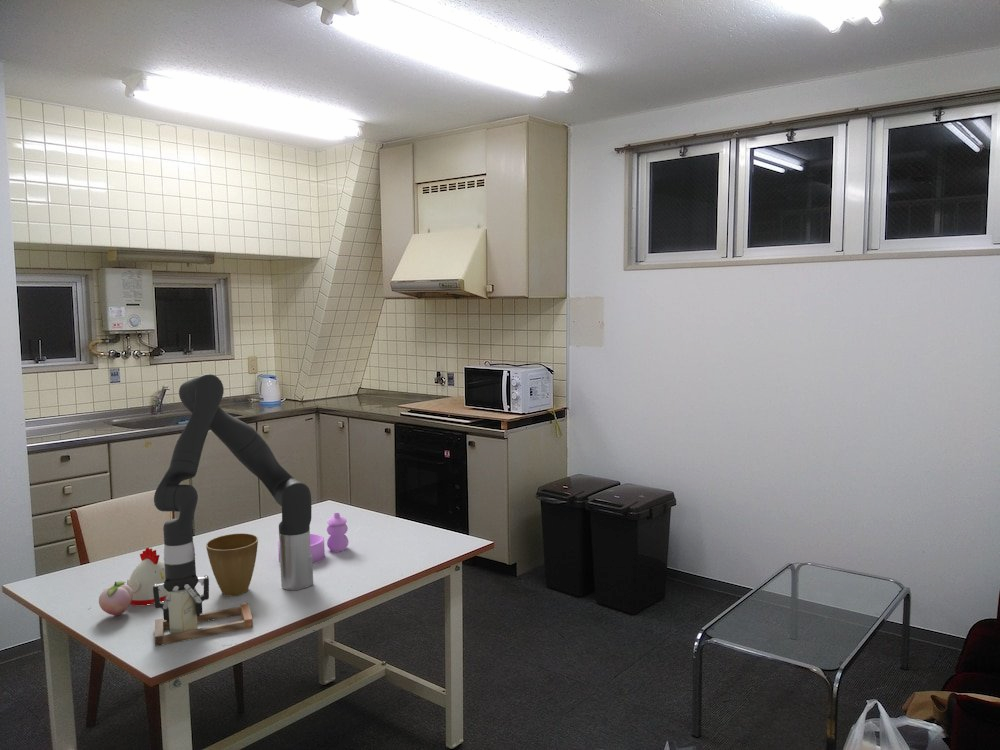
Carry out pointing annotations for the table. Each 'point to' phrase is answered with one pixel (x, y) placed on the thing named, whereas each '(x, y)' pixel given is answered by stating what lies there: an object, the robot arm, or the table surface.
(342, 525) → the container set
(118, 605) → the decorative fruit
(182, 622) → the skincare box
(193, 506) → the robot arm
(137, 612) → the table surface
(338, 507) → the table surface
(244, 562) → the plant pot
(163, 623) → the rectangular wooden frame
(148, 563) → the kitchen timer
